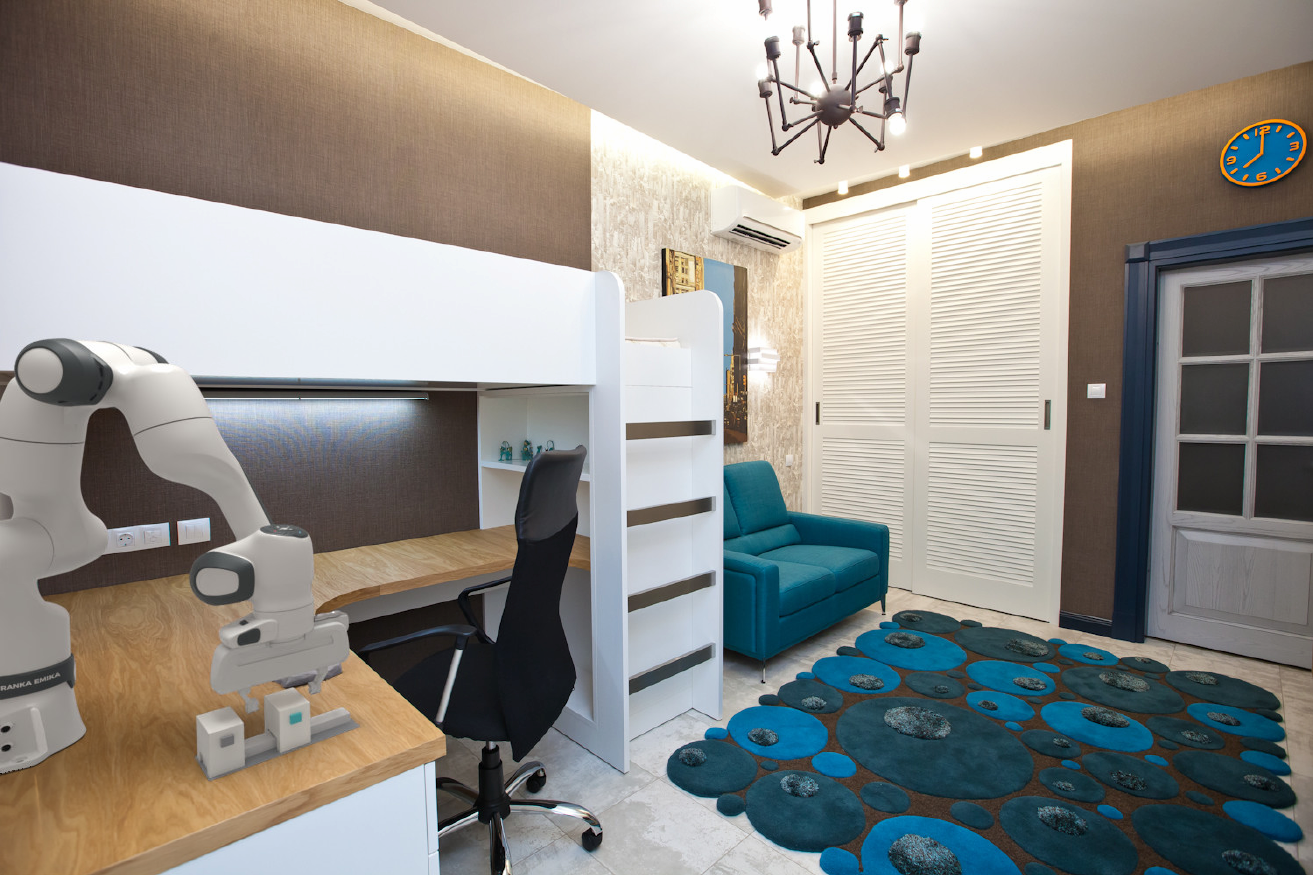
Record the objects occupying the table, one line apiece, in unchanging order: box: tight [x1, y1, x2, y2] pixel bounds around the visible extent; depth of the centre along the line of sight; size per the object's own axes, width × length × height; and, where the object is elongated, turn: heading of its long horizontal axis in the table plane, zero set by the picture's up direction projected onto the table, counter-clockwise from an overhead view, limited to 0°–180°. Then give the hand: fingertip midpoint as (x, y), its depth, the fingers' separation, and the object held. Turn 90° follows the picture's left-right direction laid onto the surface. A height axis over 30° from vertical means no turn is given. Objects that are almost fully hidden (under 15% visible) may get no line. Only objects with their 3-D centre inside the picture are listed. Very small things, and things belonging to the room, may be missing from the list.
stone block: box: [274, 663, 343, 689], centre depth 131 cm, size 12×5×10 cm
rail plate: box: [193, 706, 361, 782], centre depth 103 cm, size 22×10×2 cm, turn 137°
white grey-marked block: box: [195, 705, 245, 778], centre depth 96 cm, size 4×9×7 cm, turn 47°
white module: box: [263, 687, 311, 753], centre depth 103 cm, size 4×9×7 cm, turn 47°
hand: (284, 701), depth 103 cm, fingers open, 8 cm apart
